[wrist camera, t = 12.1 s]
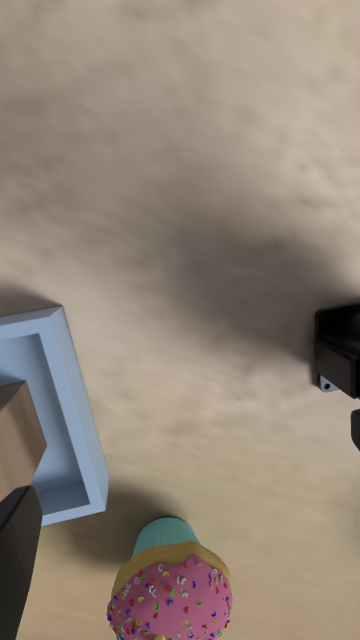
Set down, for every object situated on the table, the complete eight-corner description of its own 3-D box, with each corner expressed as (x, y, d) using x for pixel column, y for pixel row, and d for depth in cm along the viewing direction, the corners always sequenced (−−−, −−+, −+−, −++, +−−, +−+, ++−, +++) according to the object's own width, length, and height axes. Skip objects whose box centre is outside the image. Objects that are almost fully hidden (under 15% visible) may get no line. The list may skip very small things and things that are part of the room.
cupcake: (99, 567, 25) (66, 842, 14) (136, 485, 24) (134, 715, 12) (193, 584, 27) (233, 839, 15) (233, 509, 25) (310, 729, 14)
